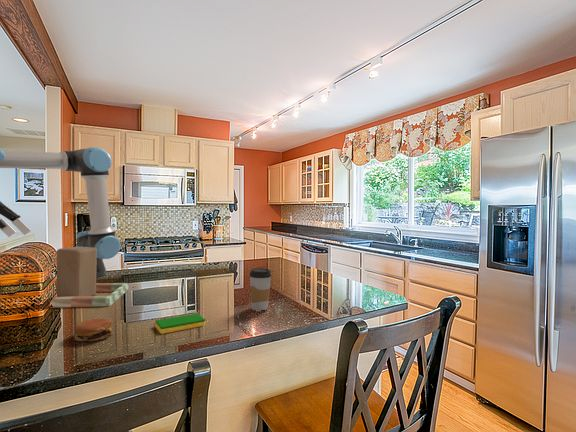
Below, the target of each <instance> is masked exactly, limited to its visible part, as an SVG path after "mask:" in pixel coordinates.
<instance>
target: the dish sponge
mask: <svg viewBox="0 0 576 432" xmlns="http://www.w3.org/2000/svg"><path fill="white" fill-rule="evenodd" d="M154 323H155V324H154V325H155V328H156V330H157V331H158V332H159V334H161V335H162V334H163V335H164V334H168V333H169V334H170V333H172V332H173V333H174V332H179V331H183V330H189V329H195V328H200V327H203V326H204V327H205V326H206V318H204V317H203V316H202V315H200V314H199V313H192V314H187V315H180V316H174V317H169V318H162V319H156V320H155V322H154Z"/></svg>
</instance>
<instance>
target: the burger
mask: <svg viewBox="0 0 576 432" xmlns="http://www.w3.org/2000/svg"><path fill="white" fill-rule="evenodd" d="M112 323H113V322H112V320H110V319H107V318H93V319H87V320H84V321H82V322H79V323H77V325H76V326H75V327H74V334H73V335H74V336H73V338H74V341H76V342H90V343H91V342H96V341H101V340H105V339H107V338H108V337H109V336H112V335H113V331H112V330H113V329H112V327H111V326H112Z"/></svg>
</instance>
